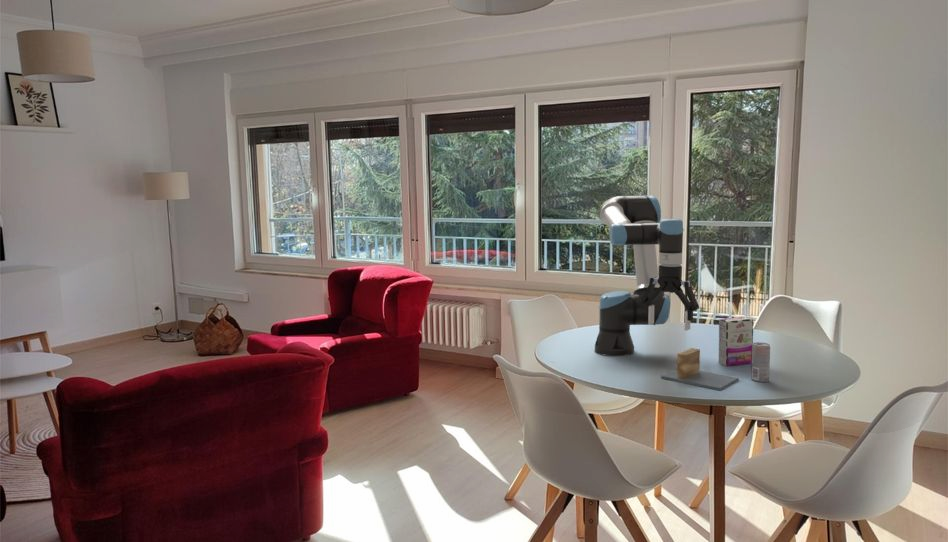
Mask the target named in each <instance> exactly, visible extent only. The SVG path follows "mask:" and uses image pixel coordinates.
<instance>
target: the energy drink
mask: <svg viewBox="0 0 948 542" xmlns="http://www.w3.org/2000/svg"><path fill="white" fill-rule="evenodd" d="M770 360H771V345H770V344H769V343H766V342H753V346H752V363H751V373H750V374H751V376H750V377H751V380H752V381H754V382H757V383H766V382H769V381H770V367H771V366H770V365H771V361H770Z"/></svg>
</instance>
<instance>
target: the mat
mask: <svg viewBox="0 0 948 542" xmlns="http://www.w3.org/2000/svg"><path fill="white" fill-rule="evenodd" d="M661 379H663V380H669V381H674V382H678V383H684V384H688V385H692V386H698V387H702V388H706V389H711V390H715V391H716V390H717V391H722V390H724V389H725V388H727V387H729V386H731V385H733V384H735V383H736V382H738V381H740V380H739V377H736V376H729V375H726V374H721V373H715V372H709V371H706V370H705V371H703V370H700V369H699V373H697V374H695V375H693V376H691V377H689V378H687V379H683V378H678V377H677V368H676V369H674V370H671V371H669V372H667V373H664V374H662V375H661Z"/></svg>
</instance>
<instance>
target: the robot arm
mask: <svg viewBox="0 0 948 542" xmlns="http://www.w3.org/2000/svg"><path fill="white" fill-rule="evenodd" d="M661 213H662V208H661V205H660V201H659V200H658V198H657V197H656V196H654V195H647V194H643V195H616V196H612V197H610V198H609V199H607V200H605V201H604V202H603V203H602V204H601V206H600V207H599V210H598V216H599V220H600V221H601V222H602V224H604V225H605V226H607V227H608V229H609V241H610V244H611V245H612V246H633V257H634V269H635V280H636V288H635V289H634V290H633V291H632V292H633V294H631V293H630V291H629V290H616V291H609V292H607V293H604V294H602V295H601V296H600V297H599V302H598V303H599V304H598V305H599V306H598V310H599V312H598V313H599V316H598V317H599V319H598V320H599V323H598V326H599V327H598V329H599V331H598V334H597V338H596V339H595V344H594V352H595V353H597V354H600V355H603V356H604V355H605V356H612V357H616V356H617V357H620V356H621V357H622V356H623V357H624V356H630V355H632V354H634V353H635V344H634V341H633V338H632V336H631V331H630V330H631V329H630V327H631V326H652V325H653V326H657V325H664V324H665V323H667V321H668V319H669V317H670V311H671V298H670V297H671V296H670V295H669V294H667V293H671V294H673V293H674V294H675V295H676V296H677V297H678V298H679V301H681V303H682V304H683V306H684V307H685V309H686V310H685V311H684V328H683V329H684V331H689V330H691V321H693V319H694V311H697V310H699V308H700V305H699V303H698V300H697V298H696V296H695V292H694V290H693V288H692V281H691V280H682V276H683V275H682V274H683V266H682V264H683V241H684V239H683V238H684V231H685V229H684V222H683V220H682V219H681V218H662V214H661ZM656 245H658V247H659V248H658V259H657V247H656ZM658 264H659V266H658ZM681 287H683V288H684V290H685V291H684V290H683V289H682V288H681ZM684 292H685V293H686V294H685V293H684Z"/></svg>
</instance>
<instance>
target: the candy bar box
mask: <svg viewBox="0 0 948 542" xmlns="http://www.w3.org/2000/svg"><path fill="white" fill-rule="evenodd" d="M753 343H754V318H751V317H748V316H741V317H739V316H738V317H731V318H721V319H718V364H719V365H721V366H725V367H733V366H741V365H743V366H744V365H750V364H751V365H752V346H753Z"/></svg>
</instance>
